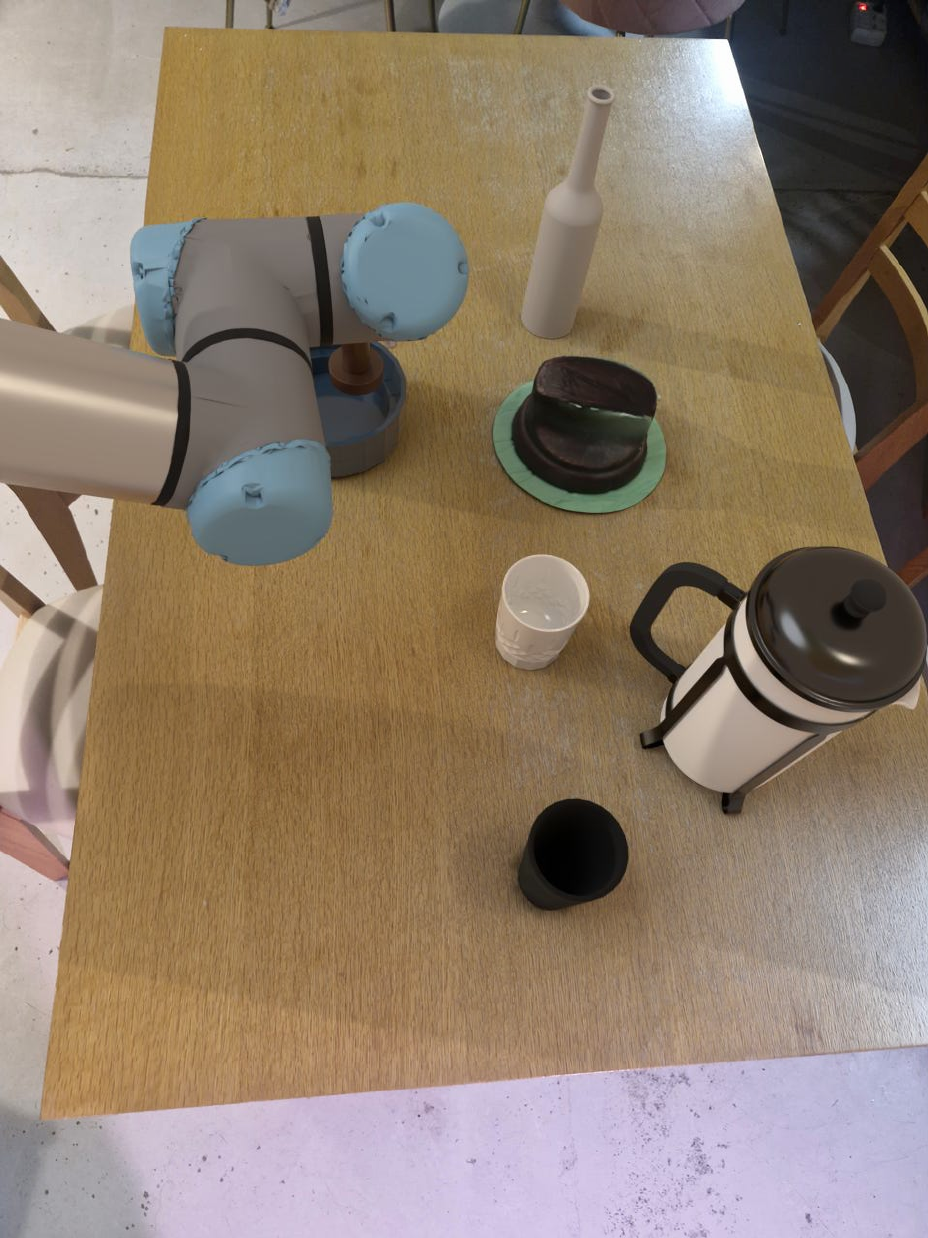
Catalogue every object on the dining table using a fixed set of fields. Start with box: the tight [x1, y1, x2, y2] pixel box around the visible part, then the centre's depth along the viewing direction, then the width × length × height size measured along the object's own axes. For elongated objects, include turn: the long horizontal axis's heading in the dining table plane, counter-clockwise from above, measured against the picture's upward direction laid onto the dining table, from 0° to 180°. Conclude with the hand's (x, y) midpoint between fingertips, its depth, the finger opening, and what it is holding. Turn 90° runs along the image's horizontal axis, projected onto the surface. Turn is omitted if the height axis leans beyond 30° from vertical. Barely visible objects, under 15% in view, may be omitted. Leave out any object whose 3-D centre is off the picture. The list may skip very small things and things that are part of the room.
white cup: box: [494, 553, 590, 672], centre depth 80 cm, size 8×8×10 cm
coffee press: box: [629, 545, 928, 816], centre depth 69 cm, size 17×16×30 cm
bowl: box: [309, 341, 407, 478], centre depth 92 cm, size 16×16×6 cm
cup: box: [517, 797, 630, 912], centre depth 69 cm, size 8×8×12 cm
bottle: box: [520, 84, 617, 340], centre depth 93 cm, size 7×7×28 cm
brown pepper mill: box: [328, 342, 384, 396], centre depth 80 cm, size 6×6×18 cm
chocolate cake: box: [492, 354, 667, 514], centre depth 94 cm, size 15×19×20 cm
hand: (348, 301), depth 85 cm, fingers closed on brown pepper mill, 3 cm apart
